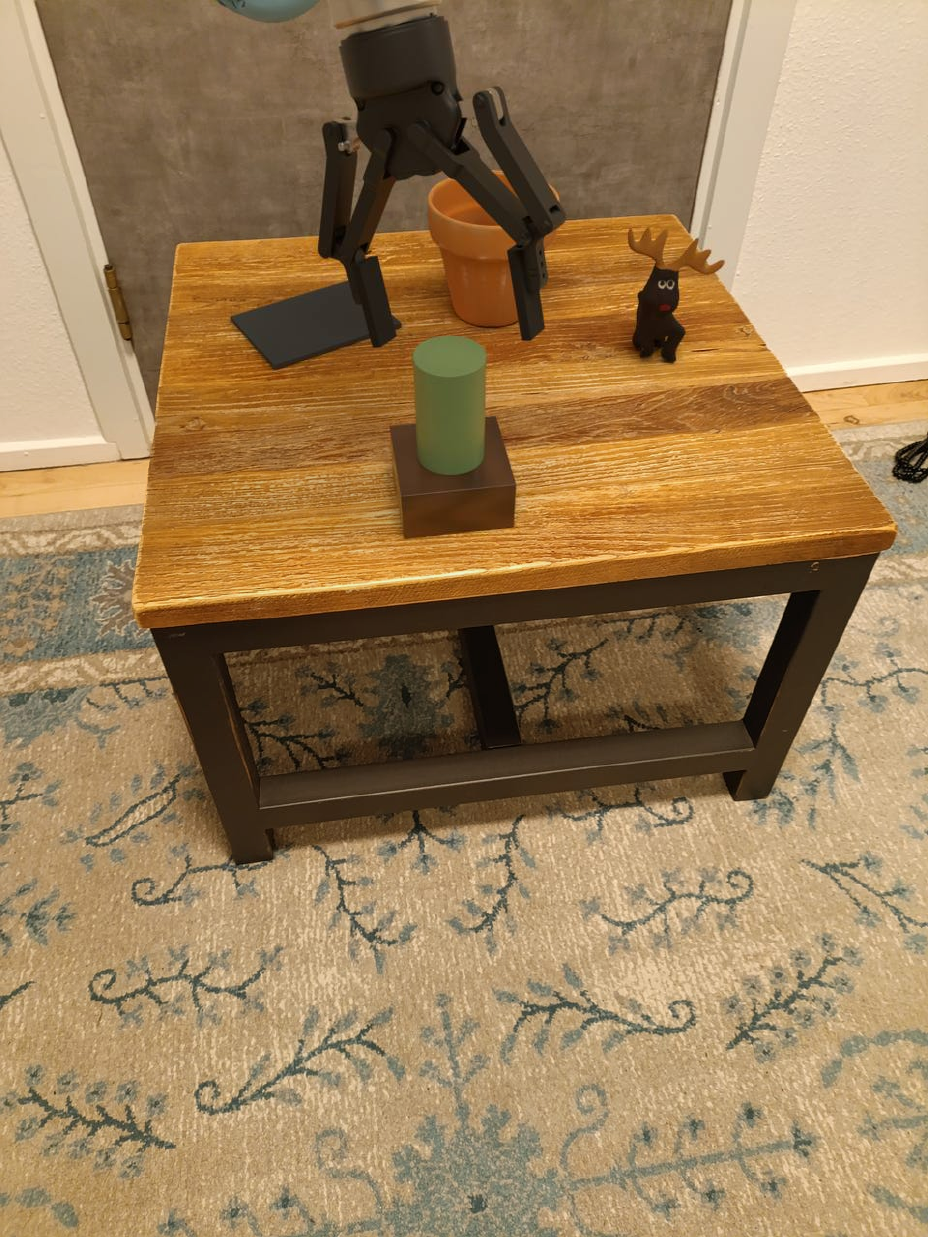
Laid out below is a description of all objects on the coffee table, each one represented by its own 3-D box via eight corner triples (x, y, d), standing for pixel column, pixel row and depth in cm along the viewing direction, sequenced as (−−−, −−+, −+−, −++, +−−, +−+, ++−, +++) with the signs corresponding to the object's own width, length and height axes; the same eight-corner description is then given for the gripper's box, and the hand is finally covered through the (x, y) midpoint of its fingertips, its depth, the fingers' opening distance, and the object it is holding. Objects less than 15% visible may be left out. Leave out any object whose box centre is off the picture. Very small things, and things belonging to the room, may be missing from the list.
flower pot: (430, 278, 110) (427, 169, 100) (545, 277, 110) (553, 168, 101) (430, 341, 101) (427, 227, 91) (555, 339, 101) (565, 226, 91)
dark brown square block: (404, 538, 80) (401, 496, 76) (392, 468, 86) (389, 425, 82) (514, 527, 81) (516, 484, 77) (494, 457, 87) (495, 415, 83)
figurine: (612, 371, 97) (631, 236, 86) (604, 336, 102) (622, 203, 90) (709, 371, 97) (741, 236, 86) (697, 335, 102) (726, 202, 90)
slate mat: (274, 370, 97) (273, 365, 97) (230, 320, 104) (229, 316, 103) (401, 327, 103) (401, 322, 102) (352, 283, 109) (352, 278, 109)
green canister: (439, 484, 77) (437, 384, 69) (404, 447, 80) (398, 348, 73) (497, 460, 79) (501, 361, 72) (460, 425, 82) (460, 327, 75)
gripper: (586, -26, 56) (621, 313, 67) (280, 52, 68) (354, 329, 79) (539, -17, 51) (585, 349, 62) (216, 66, 63) (305, 360, 74)
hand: (456, 338), depth 71 cm, fingers open, 13 cm apart
